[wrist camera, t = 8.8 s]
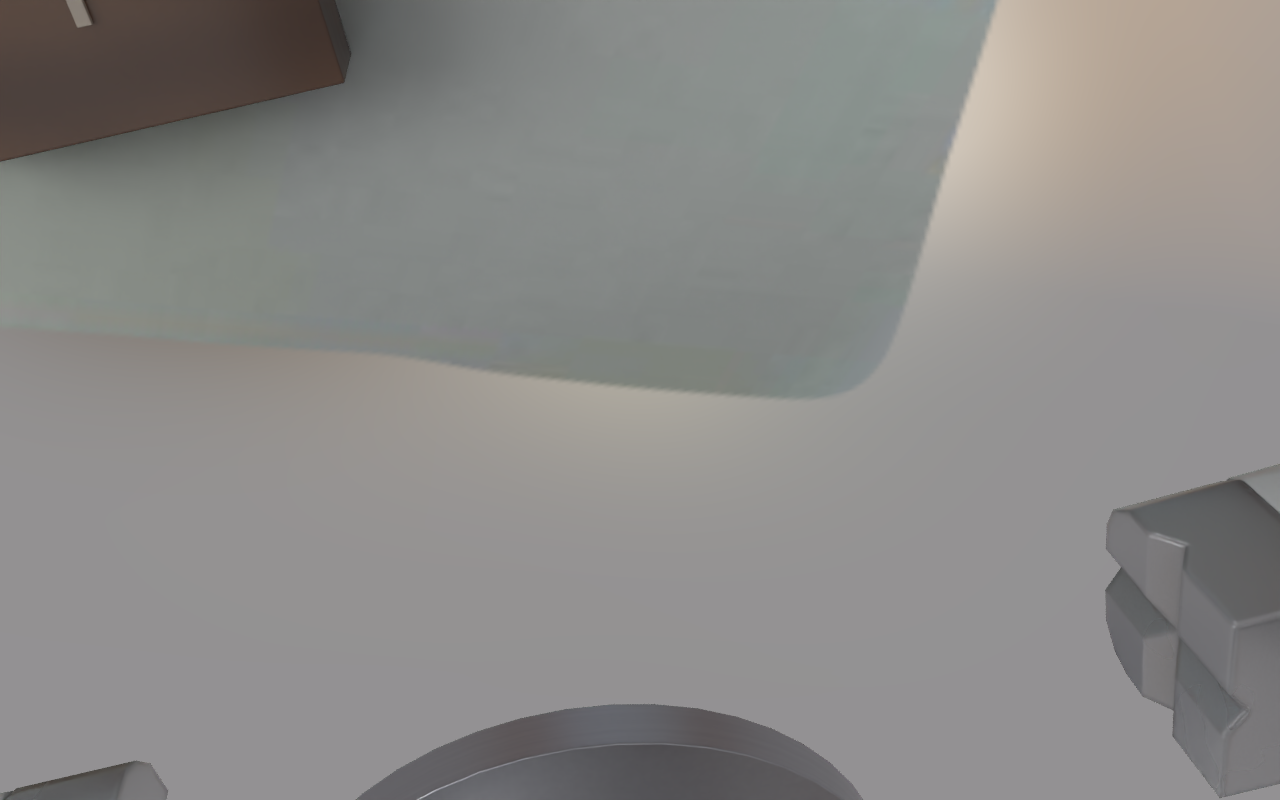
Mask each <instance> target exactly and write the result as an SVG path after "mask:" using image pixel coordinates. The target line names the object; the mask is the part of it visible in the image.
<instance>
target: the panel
mask: <svg viewBox="0 0 1280 800" xmlns="http://www.w3.org/2000/svg"><path fill="white" fill-rule="evenodd" d="M350 57H351V51H350V48H349V45H348V42H347V39H346V35H345V32H344V29H343V26H342V23H341V19H340V16H339V13H338V10H337V7H336V3H335V0H0V162H1V161H5V160H10V159H14V158H18V157H23V156H27V155H32V154H36V153H40V152H45V151H49V150H53V149H58V148H62V147H66V146H71V145H75V144H80V143H84V142H88V141H93V140H97V139H101V138H106V137H110V136H114V135H119V134H123V133H128V132H132V131H136V130H141V129H145V128H149V127H154V126H158V125H163V124H167V123H171V122H176V121H180V120H184V119H189V118H193V117H197V116H202V115H206V114H211V113H215V112H219V111H224V110H228V109H232V108H237V107H241V106H245V105H250V104H254V103H259V102H263V101H267V100H272V99H276V98H280V97H285V96H289V95H294V94H298V93H302V92H307V91H311V90H315V89H320V88H324V87H328V86H333V85H337V84H342V83H344V82H345V78H346V73H347V69H348V65H349V61H350Z"/></svg>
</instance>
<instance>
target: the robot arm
mask: <svg viewBox="0 0 1280 800" xmlns="http://www.w3.org/2000/svg"><path fill="white" fill-rule="evenodd" d="M1106 549H1107V550H1108V552H1109V553H1110V554H1111V555H1112V556H1113V558H1114V559H1115V560H1116V561H1117V562H1118V564H1119V565H1120V566H1121V569H1120V570H1119V571H1118V573H1117V574H1116V576H1115V577H1114V578H1113V580H1112V581H1111V583H1110V584H1109V585H1108V587H1107V588H1106V590H1105V591H1106V621H1107V624H1108V628H1109V632H1110V635H1111V639H1112V642H1113V646H1114V649H1115V652H1116V654H1117V656H1118V658H1119V660H1120V662H1121V664H1122V665H1123V668H1124V670H1125V672H1126V674H1127V675H1128V677H1129V678H1130V679H1131V681H1132V682H1133V683H1134V685H1135V686H1136V688H1137V689H1138V690H1139V692H1140V693H1141V694H1142V696H1143V697H1145V698H1147V699H1150V700H1152V701H1154V702H1156V703H1159V704H1161V705H1163V706H1165V707H1167V708H1170V709H1172V710H1174V715H1173V737H1174V738H1175V740H1176V741H1177V742H1178V744H1179V745H1180V746H1181V748H1182V749H1183V750H1184V752H1185V753H1186V754H1187V756H1188V757H1189V758H1190V760H1191V761H1192V762H1193V763H1194V765H1195V766H1196V767H1197V769H1198V770H1199V771H1200V773H1201V774H1202V775H1203V777H1204V778H1205V779H1206V781H1207V782H1208V783H1209V784H1210V786H1211V787H1212V788H1213V790H1214V791H1215V792H1216V794H1217V795H1218V796H1219V798H1222V797H1226V796H1230V795H1235V794H1239V793H1243V792H1247V791H1252V790H1256V789H1259V788H1264V787H1268V786H1272V785H1277V784H1280V464H1278V465H1274V466H1271V467H1267V468H1264V469H1260V470H1257V471H1253V472H1249V473H1246V474H1242V475H1238V476H1235V477H1231V478H1229V479H1227V480H1226V481H1220V482H1216V483H1213V484H1209V485H1205V486H1202V487H1197V488H1194V489H1190V490H1186V491H1182V492H1178V493H1175V494H1171V495H1167V496H1163V497H1160V498H1156V499H1152V500H1148V501H1145V502H1141V503H1137V504H1133V505H1129V506H1126V507H1122V508H1118V509H1114V510H1113V511H1112V513H1111V516H1110V519H1109V521H1108V523H1107V536H1106ZM167 793H168V790H167V788H166V787H165V785H164V784H163V782H162V781H161V779H160V778H159V776H158V774H157V773H156V771H155V770H154V768H153V767H152V765H151V764H150V763H145V762H140V761H133V762H128V763H124V764H120V765H116V766H111V767H107V768H102V769H98V770H94V771H90V772H86V773H81V774H77V775H72V776H68V777H64V778H59V779H55V780H51V781H47V782H42V783H38V784H34V785H29V786H25V787H21V788H17V789H15V790H14V791H10V792H5V793H1V794H0V800H166V798H167Z"/></svg>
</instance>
